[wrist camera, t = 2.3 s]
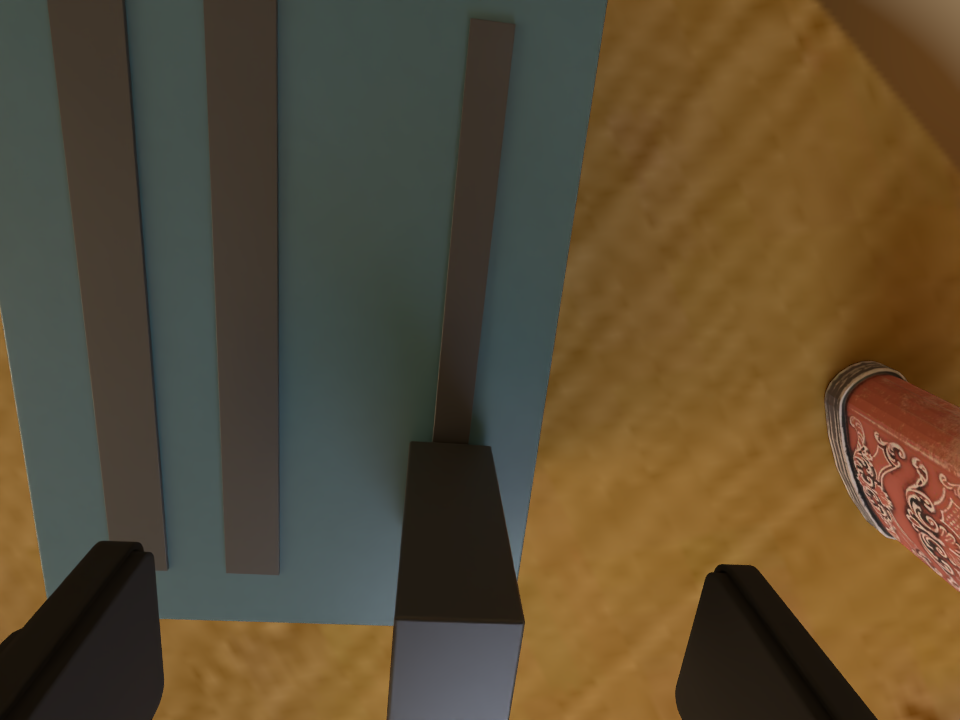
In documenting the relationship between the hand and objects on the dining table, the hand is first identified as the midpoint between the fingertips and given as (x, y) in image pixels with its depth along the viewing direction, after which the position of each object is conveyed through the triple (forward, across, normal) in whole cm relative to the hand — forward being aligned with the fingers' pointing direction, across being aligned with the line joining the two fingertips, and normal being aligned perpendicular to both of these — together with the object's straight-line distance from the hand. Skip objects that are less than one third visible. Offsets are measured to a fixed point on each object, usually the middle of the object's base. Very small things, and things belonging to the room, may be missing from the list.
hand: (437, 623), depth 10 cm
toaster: (+12, +3, -4) cm, 13 cm away
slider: (+4, 0, 0) cm, 4 cm away
